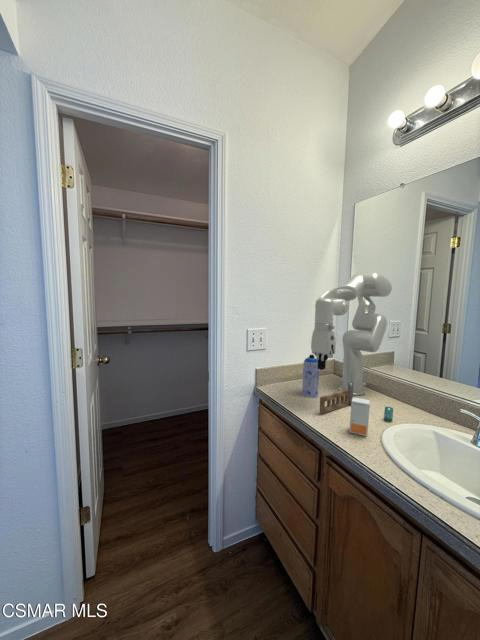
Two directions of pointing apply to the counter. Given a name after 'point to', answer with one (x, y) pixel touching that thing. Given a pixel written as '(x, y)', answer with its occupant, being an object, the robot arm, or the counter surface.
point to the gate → (334, 397)
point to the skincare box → (359, 416)
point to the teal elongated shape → (388, 410)
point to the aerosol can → (310, 377)
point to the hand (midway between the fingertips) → (321, 368)
